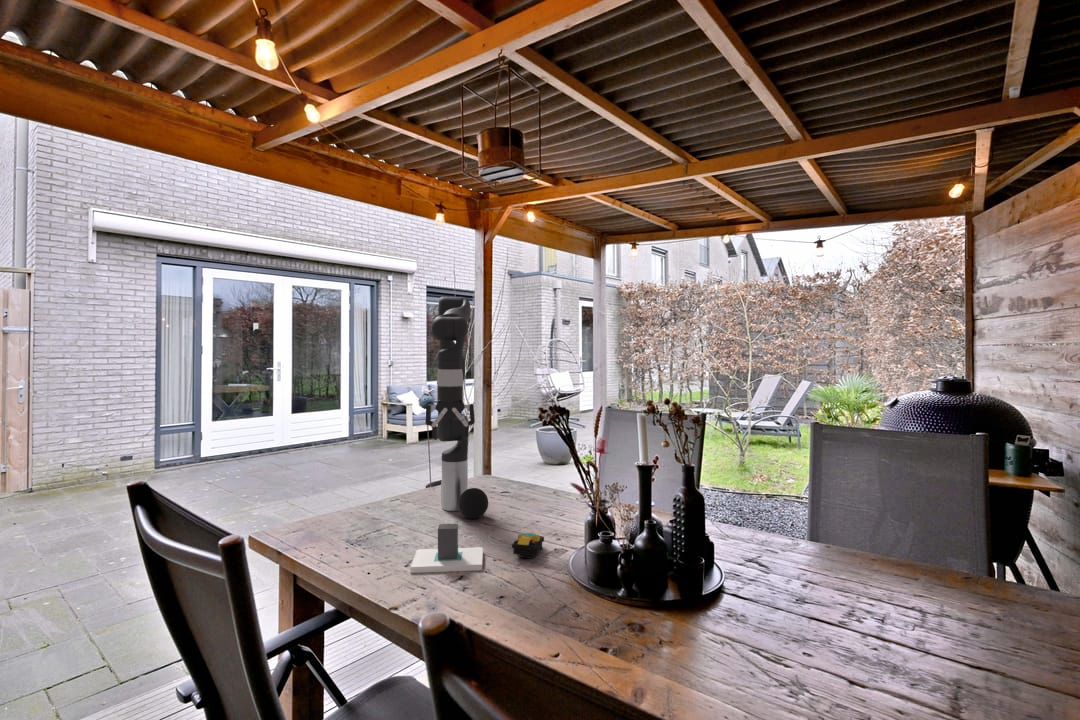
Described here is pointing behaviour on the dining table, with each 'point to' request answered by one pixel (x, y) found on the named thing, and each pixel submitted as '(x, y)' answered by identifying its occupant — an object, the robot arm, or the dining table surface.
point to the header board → (447, 561)
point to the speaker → (473, 503)
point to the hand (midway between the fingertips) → (450, 439)
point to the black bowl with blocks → (527, 545)
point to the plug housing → (447, 541)
